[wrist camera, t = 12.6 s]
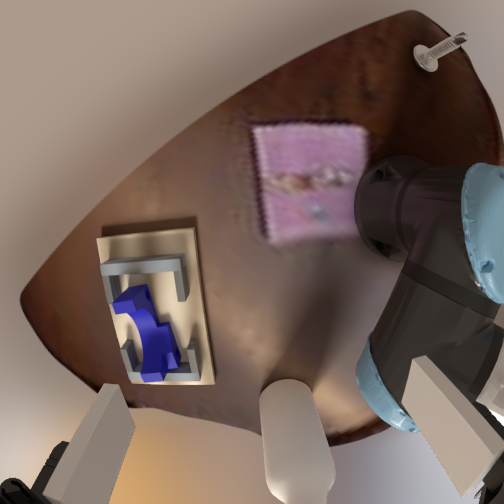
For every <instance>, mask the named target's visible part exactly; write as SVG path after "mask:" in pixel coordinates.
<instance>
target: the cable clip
mask: <svg viewBox="0 0 504 504" xmlns="http://www.w3.org/2000/svg"><path fill="white" fill-rule="evenodd" d="M111 304H112V306H113V309H114V312H115V315H117V314H123V313H127V314H128V315H129V316H130V317H131V318H132V319H133V321H134V323H135V324H136V326H137V329H138V331H139V334H140V338H141V342H142V349H143V365H142V370H141V373H140V375H141V378H142V380H143V382H144V383H148V382H162V381H164V379H165V376H166V374H167V371H168V369H172V368H178V366H179V363H180V360H181V357H182V356H181V353H180V351H179V348H178V345H177V342H176V339H175V337H174V334H173V331H172V328H171V325H170V322H162V323H160V322H159V319H158V317H157V314H156V311H155V307H154V304H153V301H152V298H151V295H150V292H149V289H148V285H147V284H143V285H137V286H132V287H128V288H127V289H126V290H125V291H124V292H123V293H122V294H121V295H120V296H119V297H118V298H117V299H116V300H115V301H113V302H112V303H111Z"/></svg>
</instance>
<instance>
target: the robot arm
mask: <svg viewBox="0 0 504 504" xmlns="http://www.w3.org/2000/svg"><path fill="white" fill-rule="evenodd" d="M354 213H355V220H356V224H357V228H358V230H359V233H360V235H361V237H362V238H363V240H364V241H365V243H366V244H367V245H368V246H369V247H370V248H371V249H372V250H373V251H374V252H376V253H377V254H379V255H381V256H383V257H384V258H386V259H389V260H392V261H396V262H405V263H404V266H403V268H402V270H401V272H400V275H399V277H398V279H397V282H396V284H395V287H394V289H393V291H392V293H391V296H390V298H389V300H388V302H387V304H386V306H385V308H384V310H383V312H382V314H381V316H380V318H379V320H378V322H377V324H376V326H375V328H374V330H373V331H372V332H371V333H370V334H369V336H368V338H367V344H366V346H365V348H364V350H363V352H362V354H361V356H360V358H359V360H358V363H357V366H356V380H357V384H358V386H359V390H360V393H361V395H362V396H363V398H364V400H365V401H366V403H367V404H368V405H369V406H370V408H371V409H372V410H373V411H374V412H375V413H376V414H377V415H378V416H379V417H380V418H382V419H383V420H384V421H385V422H387V423H388V424H390V425H392V426H393V427H395V428H398V429H400V430H402V431H407V430H409V431H410V432H421V433H422V434H423V436H424V438H425V439H426V441H427V442H428V444H429V445H430V447H431V449H432V450H433V452H434V453H435V455H436V457H437V458H438V460H439V461H440V463H441V465H442V466H443V468H444V469H445V471H446V472H447V474H448V476H449V477H450V479H451V481H452V482H453V484H454V486H455V487H456V489H457V491H458V492H459V494H460V496H463V495H465V494H467V493H468V492H470V491H472V490H473V489H475V488H476V487H477V486H478V485H479V483H480V482H481V481H482V480H483V482H484V483H485V484H484V486H483V487H482V488H481V489H480V490H479V491H478V492H477V494H476V495H475V497H474V499H476V498H477V497H478V496H479V495H480V494H481V496H480V498H479V499H480V501H479V504H504V329H503V328H501V327H500V326H498V325H496V324H494V323H493V322H494V319H495V317H496V314H497V312H498V310H499V308H500V306H501V304H504V167H502V166H494V165H488V164H486V163H477V164H475V165H445V166H432V165H430V164H428V163H426V162H424V161H422V160H420V159H418V158H416V157H413V156H407V155H397V156H390V157H386V158H383V159H381V160H379V161H377V162H376V163H374V164H373V165H372V166H371V167H370V168H369V169H368V170H367V171H366V172H365V174H364V175H363V177H362V179H361V181H360V183H359V185H358V188H357V191H356V195H355V202H354ZM135 428H136V426H135V423H134V421H133V419H132V416H131V414H130V412H129V409H128V407H127V404H126V402H125V400H124V397H123V394H122V392H121V389H120V387H119V385H115V384H104V385H103V387H102V388H101V390H100V391H99V393H98V395H97V396H96V398H95V400H94V402H93V403H92V405H91V406H90V408H89V410H88V411H87V413H86V415H85V417H84V418H83V420H82V422H81V424H80V425H79V427H78V429H77V430H76V432H75V434H74V436H73V437H72V439H71V441H70V443H69V442H65V441H62V442H61V443H59V444H58V445H57V446H56V447H54V449H53V450H52V452H51V454H50V456H49V458H48V459H47V461H46V463H45V465H44V466H43V468H42V470H41V472H40V473H39V475H38V477H37V479H36V481H35V483H34V484H33V486H32V488H31V489H29V488H28V487H27V486H26V485H25V484H24V483H23V482H22V481H21V480H19V479H16V478H9V479H7V480H5V481H4V482H3V483H1V485H0V504H108V503H109V500H110V497H111V494H112V491H113V489H114V486H115V483H116V480H117V477H118V474H119V471H120V469H121V466H122V463H123V460H124V457H125V455H126V452H127V449H128V447H129V444H130V441H131V439H132V436H133V433H134V430H135Z"/></svg>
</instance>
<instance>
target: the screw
mask: <svg viewBox="0 0 504 504" xmlns="http://www.w3.org/2000/svg"><path fill="white" fill-rule="evenodd" d="M467 40H468V39H467V34H466V33H464V32H462V33H460V34H458V35H456V36H452V37H449V38H447V39H445V41H442V42H440V43H439V44H437V45H436V46H434V47H432V48H430V49H429V48H427V47H426V46H423V45H417V46H416V47H414V49H413V57H414V58H413V60H414V62H415V64H416V66H417V67H419V68H422V69H423V70H425V71H427V72H434V71H436V70H437V68H438V61H437V59H438V58H440V57H442V56H443V55H445V54H447V53H448V52H451V51H453V50H455V49H457V48H458V47H459V46H460V44H462V43H463V42H465V41H467Z"/></svg>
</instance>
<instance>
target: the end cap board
mask: <svg viewBox="0 0 504 504" xmlns="http://www.w3.org/2000/svg"><path fill="white" fill-rule="evenodd" d="M97 244H98V250H99V256H100V262H101V264H100V268H101V274H102V279H103V283H104V288H105V293H106V297H107V302H108V304H109V305H110V310H111V314H112V318H113V322H114V326H115V329H116V333H117V337H118V340H119V344H120V347H121V349H120V351H121V354H122V357H123V361H124V364H125V367H126V370H127V373H128V376H129V379H130V380H131V382H132V383H139V384H165V385H206V384H215V380H216V378H215V372H214V366H213V360H212V354H211V348H210V341H209V335H208V328H207V321H206V314H205V307H204V300H203V292H202V284H201V276H200V268H199V259H198V251H197V241H196V232H195V227H193V228H182V229H171V230H161V231H150V232H141V233H131V234H122V235H112V236H103V237H99V238H97ZM143 284H147V285H148V289H149V292H150V295H151V298H152V301H153V304H154V307H155V311H156V314H157V317H158V319H159V322H160V323H162V322H170V325H171V328H172V331H173V334H174V337H175V339H176V342H177V345H178V348H179V351H180V353H181V356H182V357H181V360H180V363H179V366H178V368H172V369H168V371H167V374H166V376H165V379H164V381H162V382H148V383H144V382H143V380H142V378H141V375H140V373H141V370H142V365H143V349H142V342H141V338H140V334H139V331H138V329H137V326H136V324H135V323H134V321H133V319H132V318H131V317H130V316H129V315H128V314H127V313H123V314H117V315H115V312H114V309H113V306H112V304H111V303H112V302H113V301H115V300H116V299H117V298H118V297H119V296H120V295H121V294H122V293H123V292H124V291H125V290H126V289H127V288H128V287H132V286H137V285H143Z"/></svg>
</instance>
